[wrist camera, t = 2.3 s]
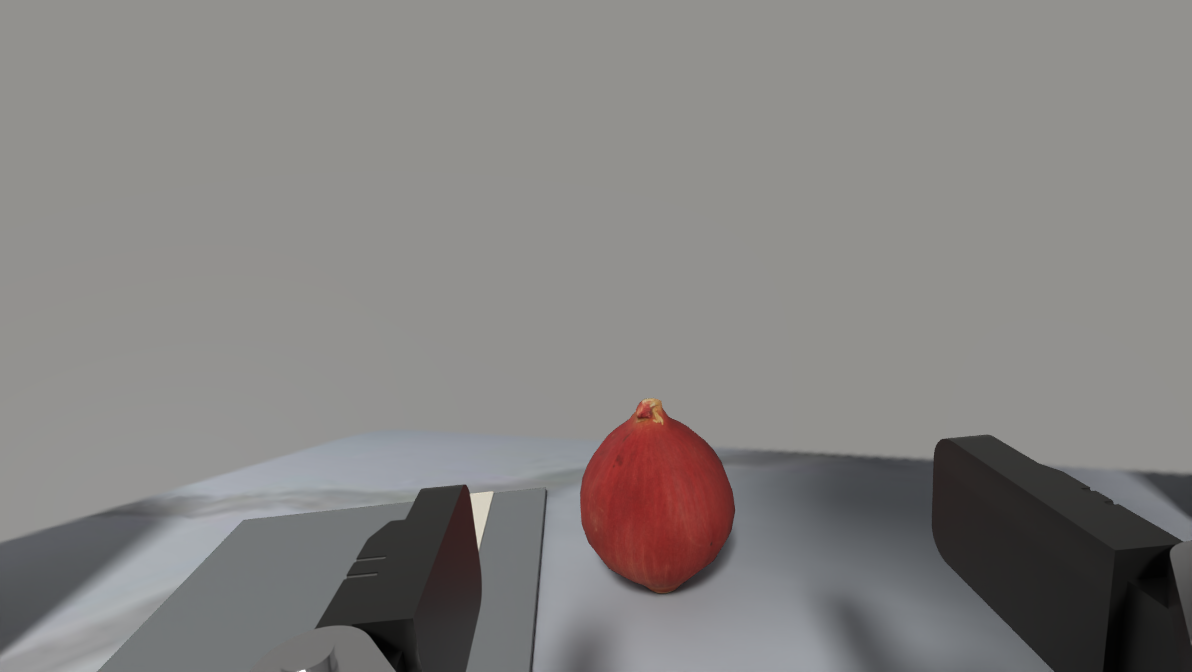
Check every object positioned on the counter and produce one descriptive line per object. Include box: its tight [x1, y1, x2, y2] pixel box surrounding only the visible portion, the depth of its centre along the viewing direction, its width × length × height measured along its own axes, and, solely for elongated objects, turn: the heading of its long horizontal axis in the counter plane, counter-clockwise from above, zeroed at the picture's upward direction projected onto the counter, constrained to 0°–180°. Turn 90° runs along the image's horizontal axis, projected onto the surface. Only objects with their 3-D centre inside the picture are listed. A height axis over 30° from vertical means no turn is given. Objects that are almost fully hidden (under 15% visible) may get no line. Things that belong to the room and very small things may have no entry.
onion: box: [580, 398, 735, 593], centre depth 25 cm, size 6×6×8 cm
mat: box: [97, 488, 546, 672], centre depth 25 cm, size 16×18×1 cm
